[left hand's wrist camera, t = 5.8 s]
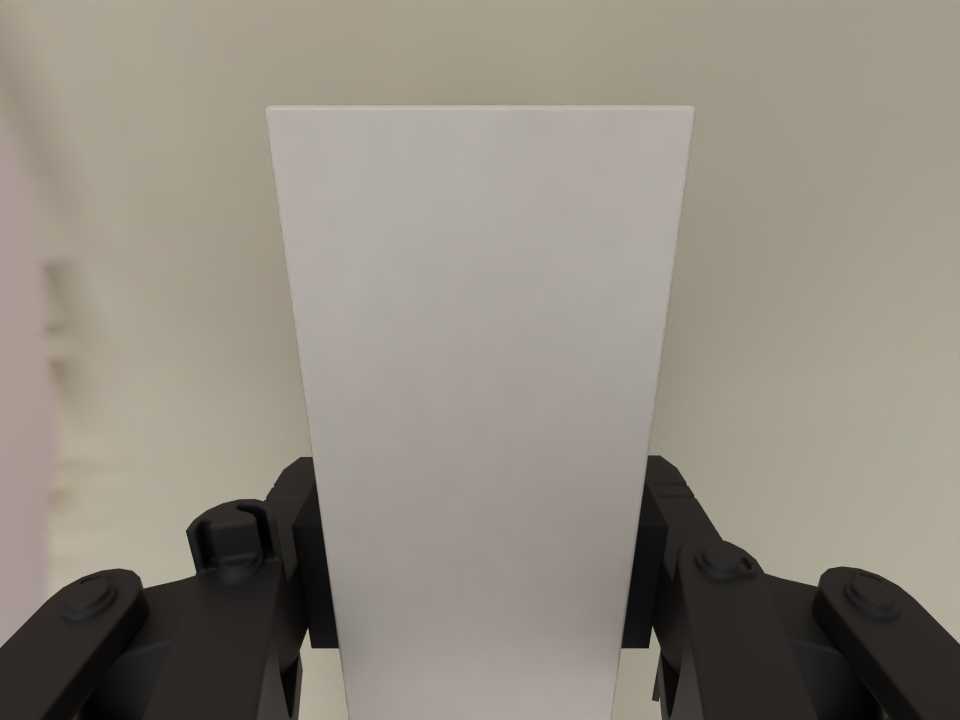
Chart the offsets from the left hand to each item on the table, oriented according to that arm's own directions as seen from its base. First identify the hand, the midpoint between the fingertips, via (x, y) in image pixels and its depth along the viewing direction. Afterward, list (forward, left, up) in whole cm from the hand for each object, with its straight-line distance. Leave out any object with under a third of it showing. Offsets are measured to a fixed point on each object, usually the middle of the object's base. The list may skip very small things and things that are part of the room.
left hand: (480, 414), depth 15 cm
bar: (+28, +6, -1) cm, 28 cm away
